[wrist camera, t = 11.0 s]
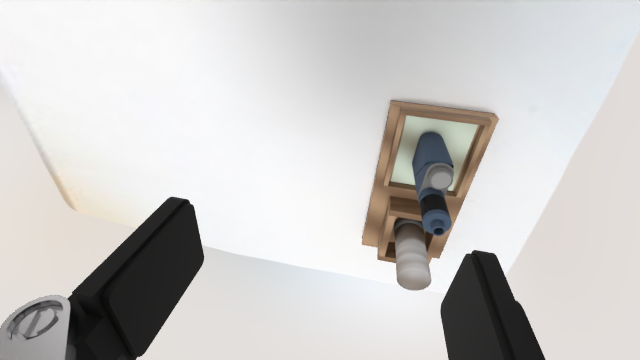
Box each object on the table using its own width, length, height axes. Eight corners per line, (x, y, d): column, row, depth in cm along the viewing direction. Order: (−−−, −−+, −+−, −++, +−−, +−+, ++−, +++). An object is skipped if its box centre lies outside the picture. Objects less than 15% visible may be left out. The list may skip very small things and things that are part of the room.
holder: (391, 100, 33) (393, 140, 24) (494, 113, 32) (535, 160, 23) (362, 237, 45) (357, 297, 36) (437, 250, 44) (451, 316, 35)
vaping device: (408, 168, 35) (418, 239, 25) (421, 127, 32) (438, 189, 22) (430, 172, 35) (449, 245, 25) (445, 131, 32) (473, 195, 22)
